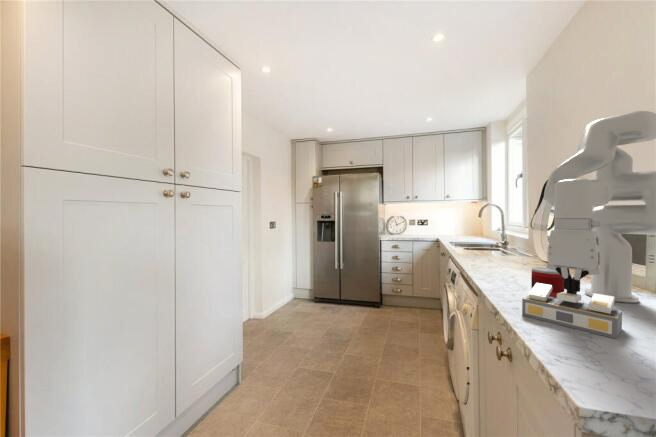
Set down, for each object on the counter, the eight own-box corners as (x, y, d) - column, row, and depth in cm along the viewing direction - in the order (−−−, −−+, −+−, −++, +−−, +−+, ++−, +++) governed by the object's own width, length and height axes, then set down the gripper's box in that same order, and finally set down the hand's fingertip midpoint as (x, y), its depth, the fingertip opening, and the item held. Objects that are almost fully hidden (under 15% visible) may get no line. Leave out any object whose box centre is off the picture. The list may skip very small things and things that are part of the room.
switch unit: (532, 308, 80) (532, 292, 80) (621, 328, 65) (622, 309, 65) (521, 315, 74) (521, 298, 74) (616, 339, 60) (617, 318, 60)
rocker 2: (563, 296, 73) (563, 291, 73) (581, 300, 70) (581, 294, 70) (556, 299, 69) (556, 293, 69) (575, 302, 66) (575, 296, 66)
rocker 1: (536, 287, 78) (536, 282, 78) (552, 289, 75) (552, 284, 75) (529, 298, 74) (528, 293, 74) (545, 301, 71) (544, 296, 71)
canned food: (570, 309, 79) (570, 272, 79) (539, 307, 81) (540, 271, 81) (554, 301, 87) (554, 267, 86) (526, 299, 88) (526, 266, 88)
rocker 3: (594, 298, 69) (593, 292, 68) (614, 301, 66) (614, 296, 65) (588, 309, 64) (588, 303, 64) (610, 313, 62) (610, 307, 61)
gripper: (615, 225, 68) (614, 297, 68) (542, 224, 80) (541, 285, 80) (610, 226, 63) (610, 303, 64) (534, 225, 75) (533, 289, 75)
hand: (572, 293), depth 72 cm, fingers closed
